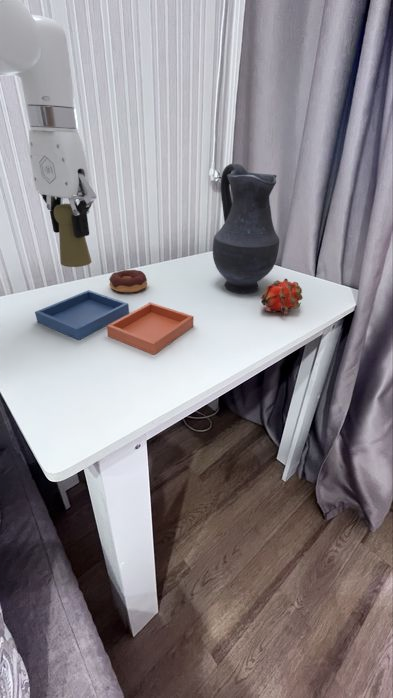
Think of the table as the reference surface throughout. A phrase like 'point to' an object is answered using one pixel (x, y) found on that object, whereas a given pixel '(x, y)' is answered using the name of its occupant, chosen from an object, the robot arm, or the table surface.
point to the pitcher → (245, 230)
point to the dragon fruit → (282, 296)
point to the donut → (128, 281)
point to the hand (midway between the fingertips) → (71, 232)
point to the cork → (70, 239)
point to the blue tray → (82, 314)
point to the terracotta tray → (150, 327)
